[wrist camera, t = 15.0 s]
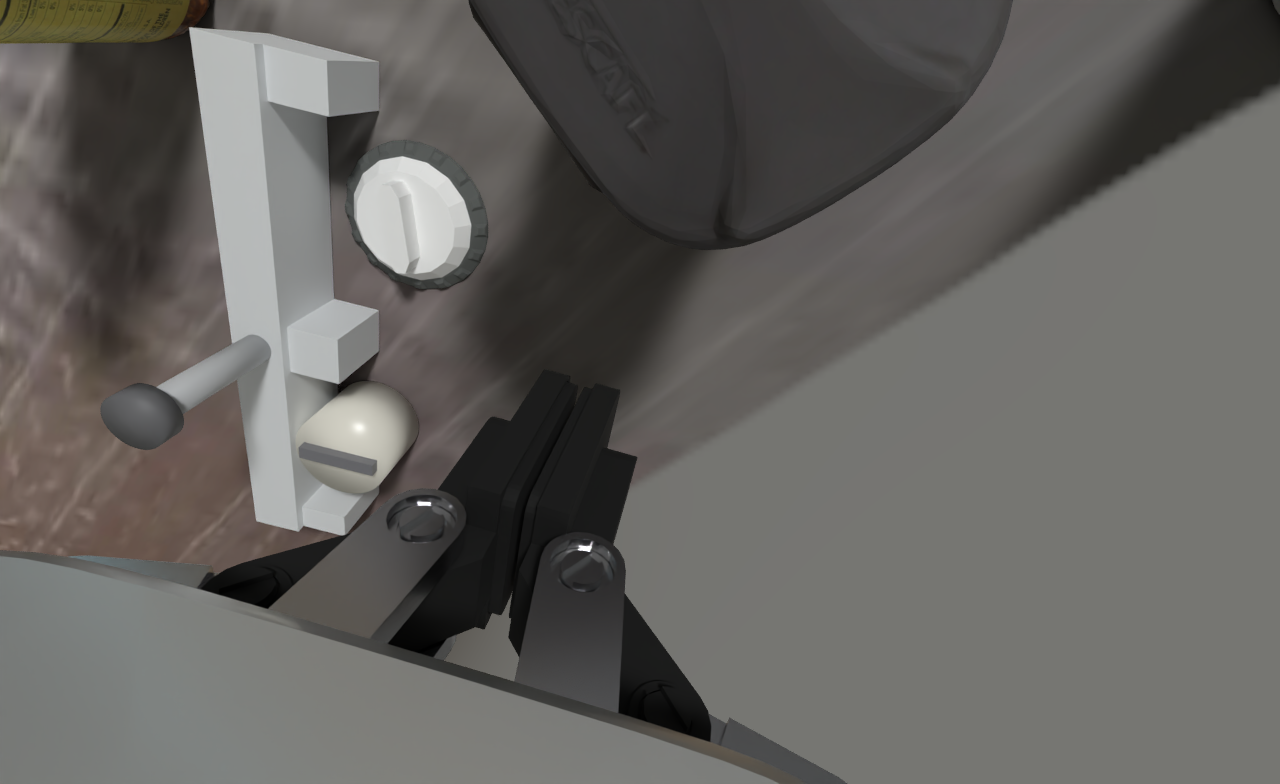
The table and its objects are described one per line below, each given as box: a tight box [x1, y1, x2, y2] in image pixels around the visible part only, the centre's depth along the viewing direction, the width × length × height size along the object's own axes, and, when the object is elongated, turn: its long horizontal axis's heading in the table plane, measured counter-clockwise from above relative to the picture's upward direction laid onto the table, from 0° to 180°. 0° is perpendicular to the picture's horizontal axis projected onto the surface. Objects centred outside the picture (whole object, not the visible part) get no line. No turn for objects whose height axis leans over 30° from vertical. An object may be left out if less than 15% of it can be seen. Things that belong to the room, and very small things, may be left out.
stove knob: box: [345, 140, 488, 289], centre depth 28 cm, size 7×7×3 cm
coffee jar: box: [469, 0, 1013, 250], centre depth 16 cm, size 10×8×19 cm
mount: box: [101, 27, 379, 535], centre depth 27 cm, size 5×25×12 cm, turn 167°
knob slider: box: [296, 381, 419, 493], centre depth 33 cm, size 5×5×4 cm
